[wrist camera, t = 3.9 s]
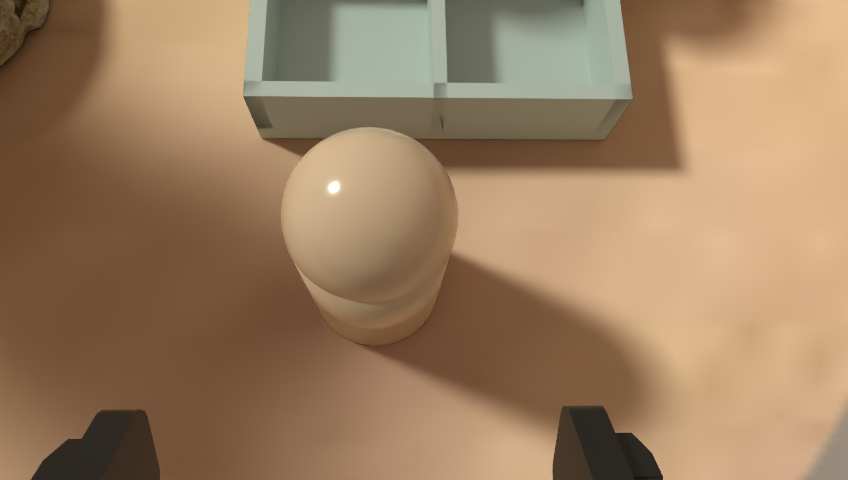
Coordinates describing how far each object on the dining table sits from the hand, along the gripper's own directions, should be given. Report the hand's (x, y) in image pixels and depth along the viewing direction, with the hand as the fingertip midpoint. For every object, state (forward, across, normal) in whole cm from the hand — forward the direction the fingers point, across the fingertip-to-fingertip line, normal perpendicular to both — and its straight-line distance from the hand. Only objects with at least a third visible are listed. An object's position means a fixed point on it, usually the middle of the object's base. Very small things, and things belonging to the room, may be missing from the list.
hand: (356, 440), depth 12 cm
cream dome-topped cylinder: (+11, 0, +3) cm, 11 cm away
